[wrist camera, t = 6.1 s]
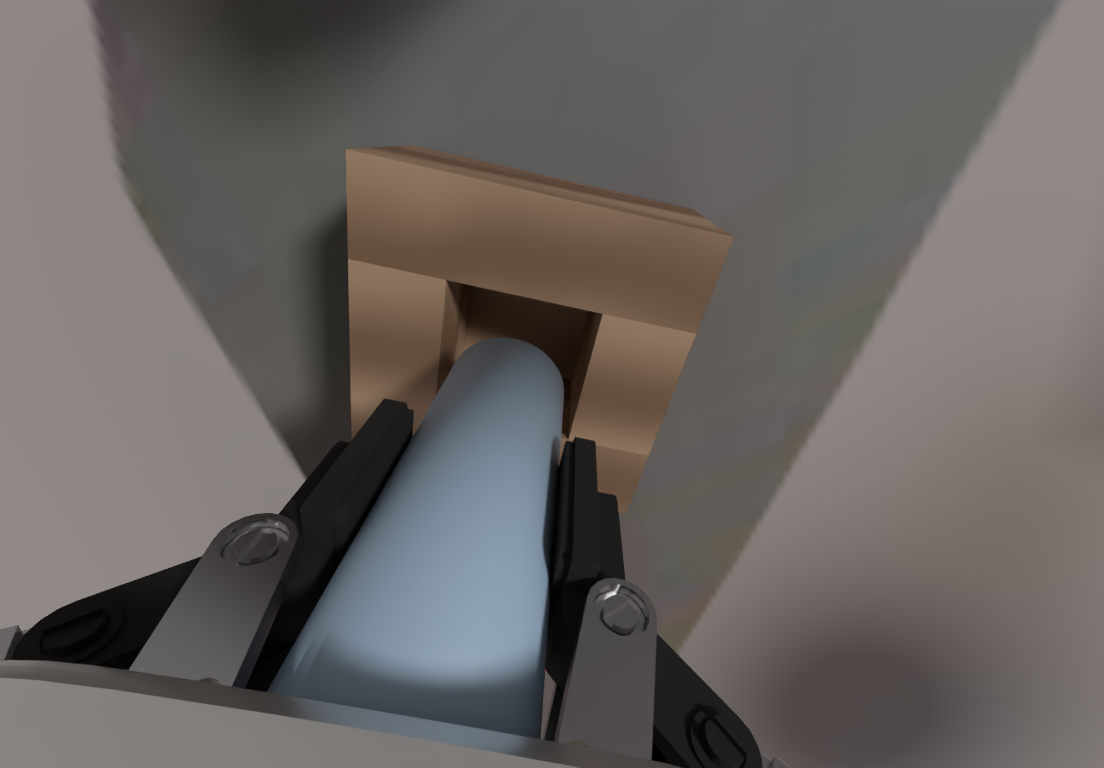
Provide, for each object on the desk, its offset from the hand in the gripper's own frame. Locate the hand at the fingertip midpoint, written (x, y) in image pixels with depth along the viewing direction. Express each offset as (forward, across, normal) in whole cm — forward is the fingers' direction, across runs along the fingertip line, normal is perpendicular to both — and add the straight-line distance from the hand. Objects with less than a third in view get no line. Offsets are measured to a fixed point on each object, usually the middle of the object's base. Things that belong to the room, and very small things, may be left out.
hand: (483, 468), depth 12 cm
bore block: (+11, 0, 0) cm, 11 cm away
